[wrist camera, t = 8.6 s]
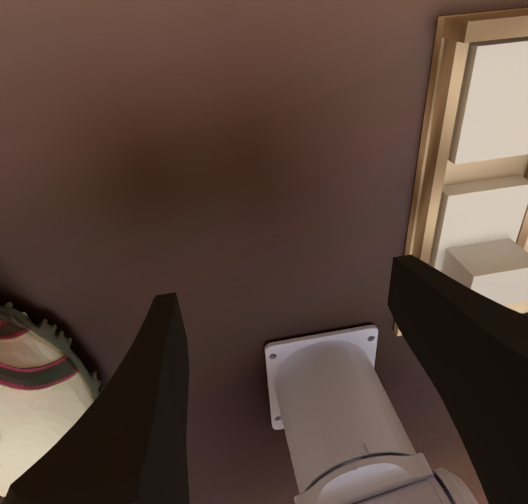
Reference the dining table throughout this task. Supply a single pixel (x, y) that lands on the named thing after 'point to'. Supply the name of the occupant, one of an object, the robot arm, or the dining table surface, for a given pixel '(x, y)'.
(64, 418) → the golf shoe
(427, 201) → the lane board
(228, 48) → the dining table surface
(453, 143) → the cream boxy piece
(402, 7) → the dining table surface
